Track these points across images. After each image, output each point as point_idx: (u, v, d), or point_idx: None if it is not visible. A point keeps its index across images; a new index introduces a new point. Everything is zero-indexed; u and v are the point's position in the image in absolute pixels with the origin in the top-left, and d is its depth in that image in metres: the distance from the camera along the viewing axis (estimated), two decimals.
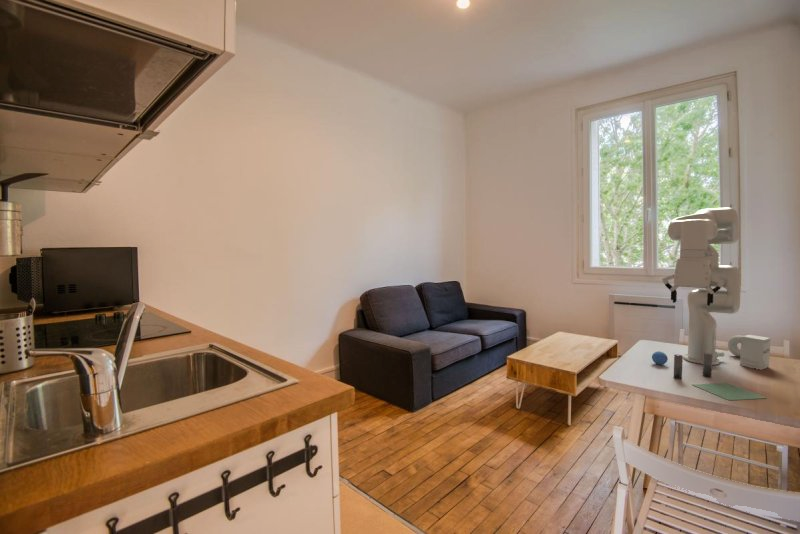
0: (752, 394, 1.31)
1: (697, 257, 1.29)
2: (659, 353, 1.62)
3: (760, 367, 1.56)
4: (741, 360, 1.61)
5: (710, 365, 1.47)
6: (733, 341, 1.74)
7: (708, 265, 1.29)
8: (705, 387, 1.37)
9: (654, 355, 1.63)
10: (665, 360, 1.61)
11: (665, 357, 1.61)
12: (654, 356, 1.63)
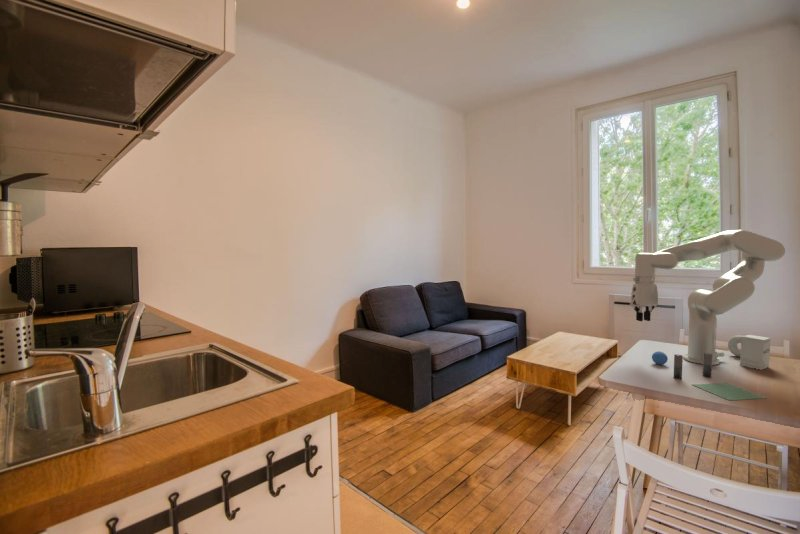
0: (752, 394, 1.31)
1: None
2: (659, 353, 1.62)
3: (760, 367, 1.56)
4: (741, 360, 1.61)
5: (710, 365, 1.47)
6: (733, 341, 1.74)
7: None
8: (705, 387, 1.37)
9: (654, 355, 1.63)
10: (665, 360, 1.61)
11: (665, 357, 1.61)
12: (654, 356, 1.63)
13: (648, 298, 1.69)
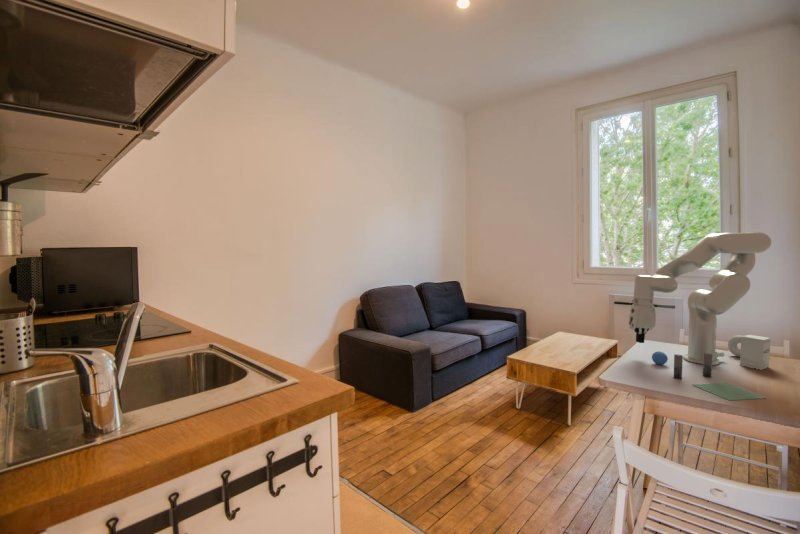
0: (752, 394, 1.31)
1: None
2: (659, 353, 1.62)
3: (760, 367, 1.56)
4: (741, 360, 1.61)
5: (710, 365, 1.47)
6: (733, 341, 1.74)
7: (631, 309, 1.73)
8: (705, 387, 1.37)
9: (654, 355, 1.63)
10: (665, 360, 1.61)
11: (665, 357, 1.61)
12: (654, 356, 1.63)
13: (646, 320, 1.70)
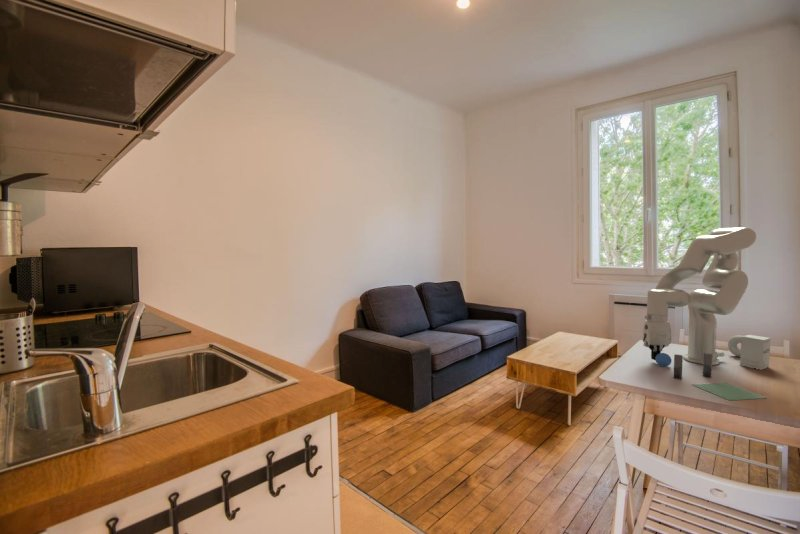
0: (752, 394, 1.31)
1: None
2: (665, 358, 1.59)
3: (760, 367, 1.56)
4: (741, 360, 1.61)
5: (710, 365, 1.47)
6: (733, 341, 1.74)
7: (644, 325, 1.66)
8: (705, 387, 1.37)
9: (659, 358, 1.60)
10: (668, 365, 1.59)
11: (669, 363, 1.59)
12: (658, 359, 1.60)
13: (661, 337, 1.62)
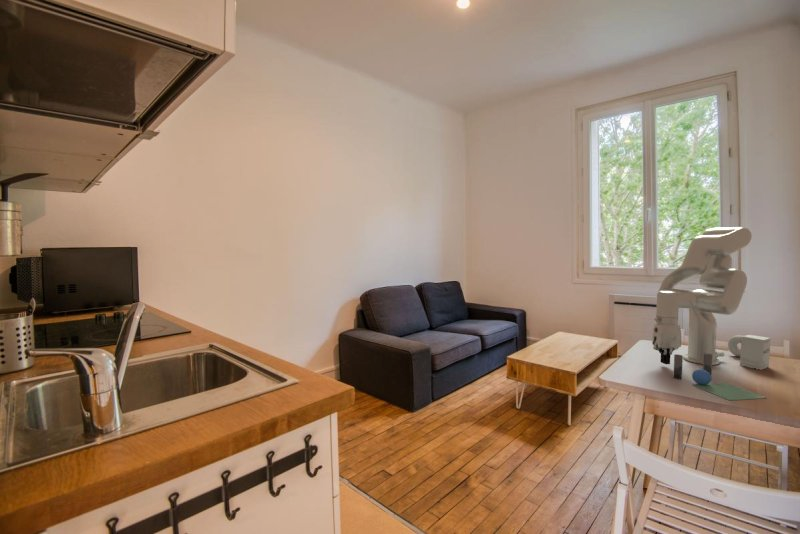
0: (752, 394, 1.31)
1: None
2: (703, 383, 1.38)
3: (760, 367, 1.56)
4: (741, 360, 1.61)
5: (710, 365, 1.47)
6: (733, 341, 1.74)
7: (654, 327, 1.61)
8: (705, 387, 1.37)
9: (697, 379, 1.39)
10: None
11: None
12: (695, 379, 1.40)
13: (671, 340, 1.57)
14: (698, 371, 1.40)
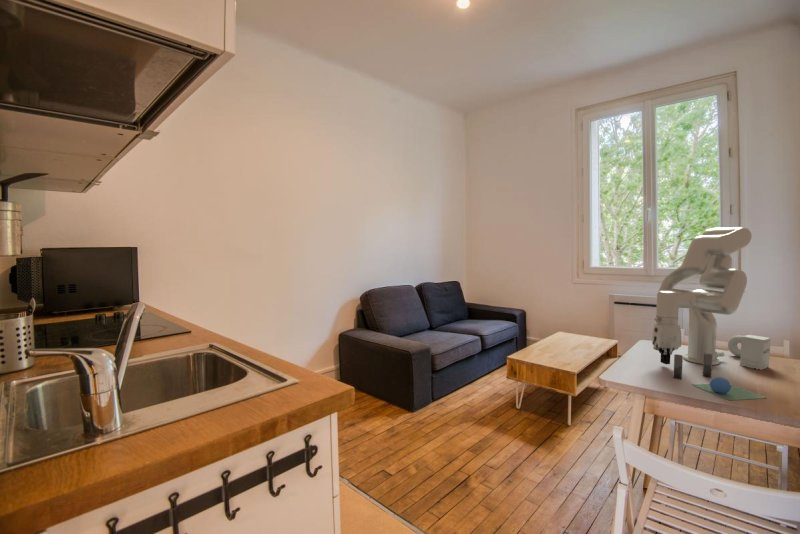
0: (752, 394, 1.31)
1: None
2: None
3: (760, 367, 1.56)
4: (741, 360, 1.61)
5: (710, 365, 1.47)
6: (733, 341, 1.74)
7: (654, 327, 1.61)
8: (705, 387, 1.37)
9: (710, 383, 1.33)
10: (723, 378, 1.32)
11: None
12: (710, 382, 1.33)
13: (671, 340, 1.57)
14: (715, 391, 1.32)
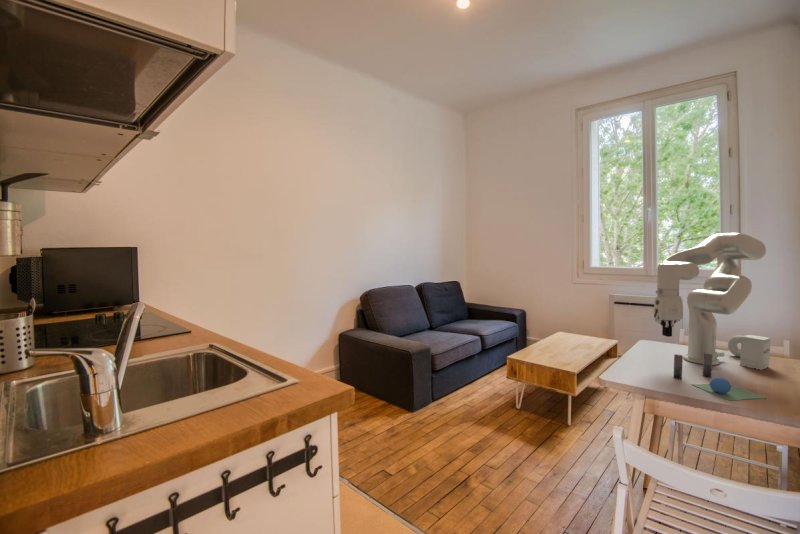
0: (752, 394, 1.31)
1: None
2: None
3: (760, 367, 1.56)
4: (741, 360, 1.61)
5: (710, 365, 1.47)
6: (733, 341, 1.74)
7: (655, 300, 1.60)
8: (705, 387, 1.37)
9: (710, 383, 1.33)
10: (723, 378, 1.32)
11: None
12: (710, 382, 1.33)
13: (672, 312, 1.56)
14: (715, 391, 1.32)
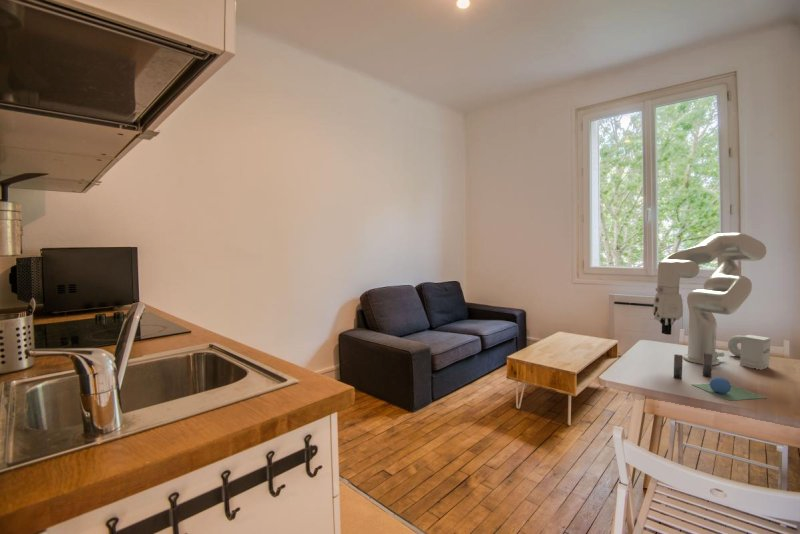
0: (752, 394, 1.31)
1: None
2: None
3: (760, 367, 1.56)
4: (741, 360, 1.61)
5: (710, 365, 1.47)
6: (733, 341, 1.74)
7: (655, 298, 1.60)
8: (705, 387, 1.37)
9: (710, 383, 1.33)
10: (723, 378, 1.32)
11: None
12: (710, 382, 1.33)
13: (672, 310, 1.56)
14: (715, 391, 1.32)
